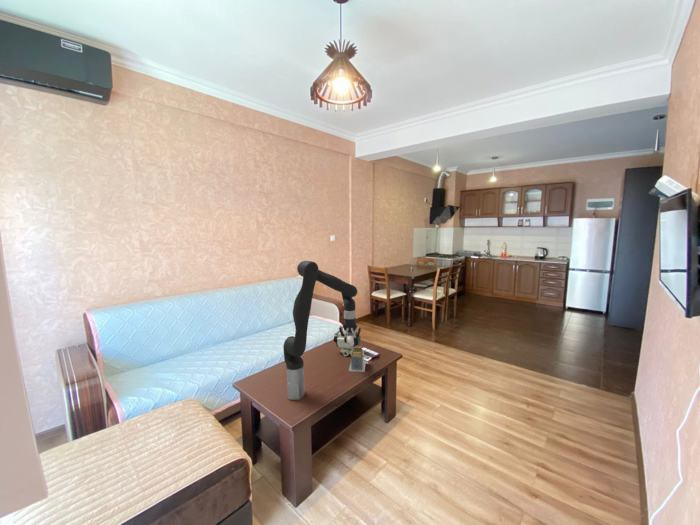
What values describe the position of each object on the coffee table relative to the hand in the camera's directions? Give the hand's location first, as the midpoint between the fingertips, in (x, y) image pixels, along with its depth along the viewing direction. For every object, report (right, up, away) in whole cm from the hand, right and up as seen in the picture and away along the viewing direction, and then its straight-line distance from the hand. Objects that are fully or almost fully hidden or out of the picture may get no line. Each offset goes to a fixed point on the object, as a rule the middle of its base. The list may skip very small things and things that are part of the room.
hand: (350, 342), depth 184 cm
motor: (+5, -19, +10) cm, 21 cm away
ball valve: (-2, -16, +27) cm, 32 cm away
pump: (0, -1, 0) cm, 1 cm away
